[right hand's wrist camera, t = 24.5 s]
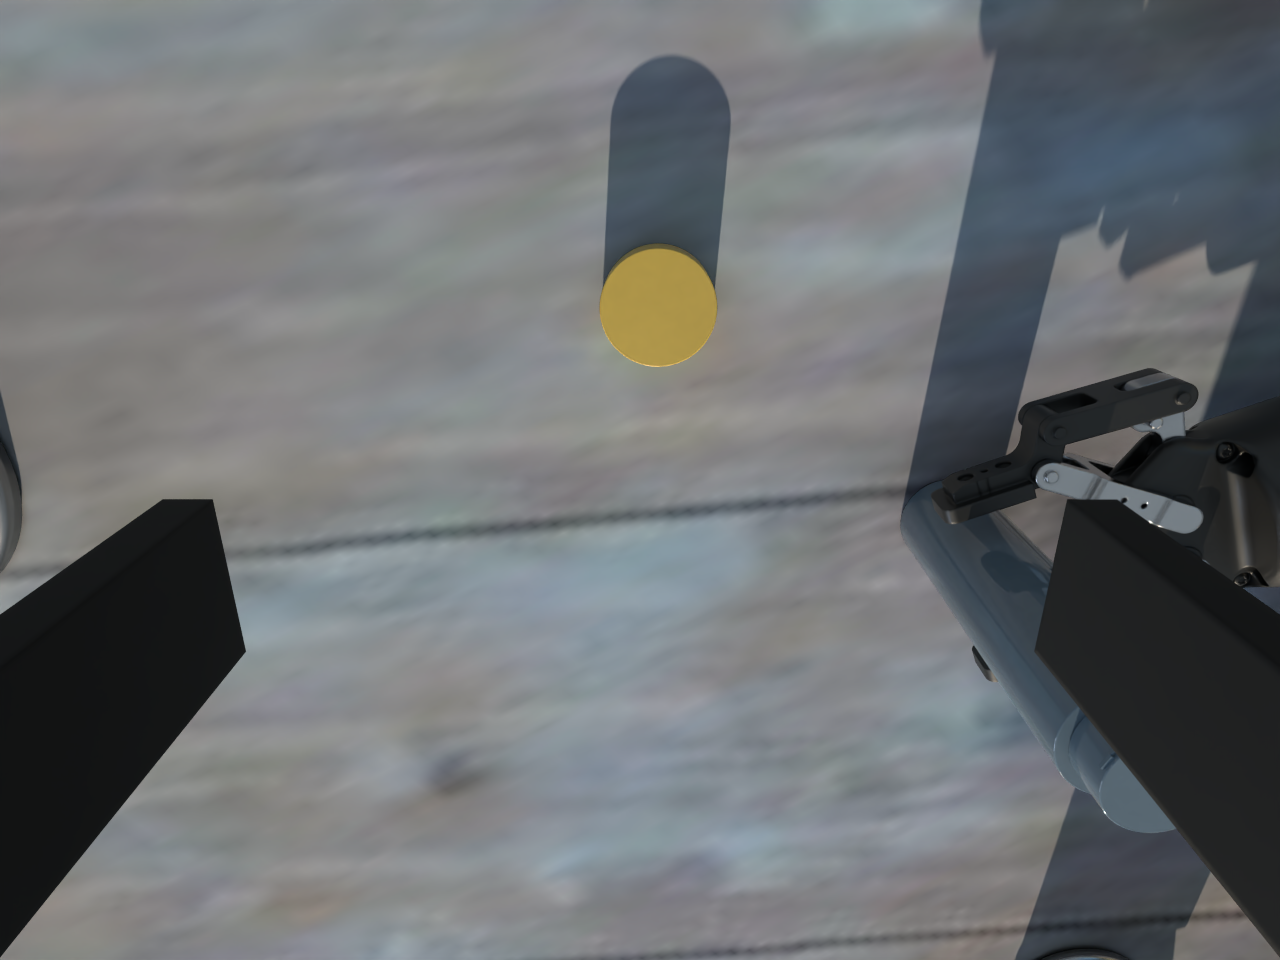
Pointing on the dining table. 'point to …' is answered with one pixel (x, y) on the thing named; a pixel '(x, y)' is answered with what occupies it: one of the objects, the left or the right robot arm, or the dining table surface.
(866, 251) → the dining table surface
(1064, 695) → the bottle
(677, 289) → the lid
